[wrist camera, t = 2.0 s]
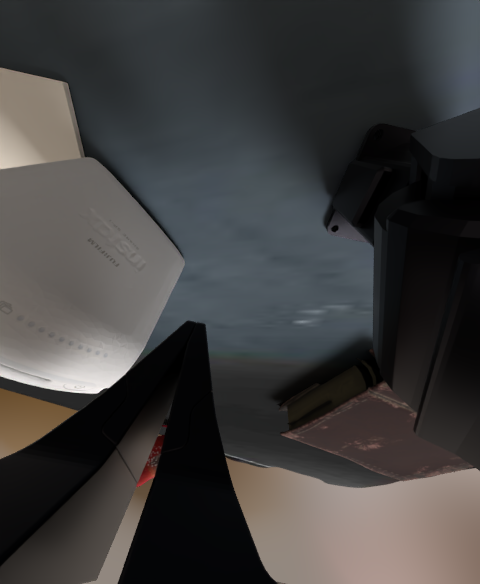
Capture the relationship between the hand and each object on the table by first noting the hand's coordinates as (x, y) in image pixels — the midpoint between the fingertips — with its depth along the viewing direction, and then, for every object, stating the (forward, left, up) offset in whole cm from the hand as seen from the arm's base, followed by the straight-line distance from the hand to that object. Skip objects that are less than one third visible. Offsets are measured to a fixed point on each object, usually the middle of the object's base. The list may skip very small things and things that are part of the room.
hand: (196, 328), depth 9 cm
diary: (-26, +21, -10) cm, 35 cm away
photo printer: (+8, 0, -10) cm, 12 cm away
